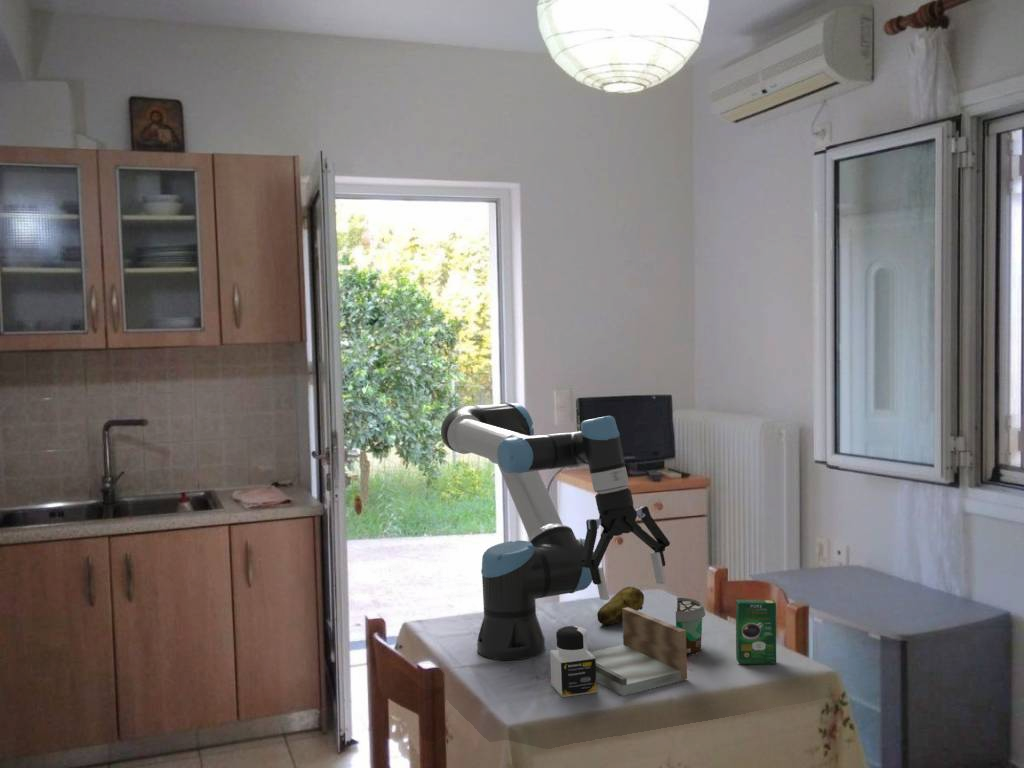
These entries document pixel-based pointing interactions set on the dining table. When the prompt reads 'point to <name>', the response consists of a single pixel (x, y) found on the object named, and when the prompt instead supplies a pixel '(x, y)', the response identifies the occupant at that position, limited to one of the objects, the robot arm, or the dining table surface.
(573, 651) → the medicine bottle
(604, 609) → the potato
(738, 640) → the coffee box
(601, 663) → the wall board
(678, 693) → the dining table surface
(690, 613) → the food container
